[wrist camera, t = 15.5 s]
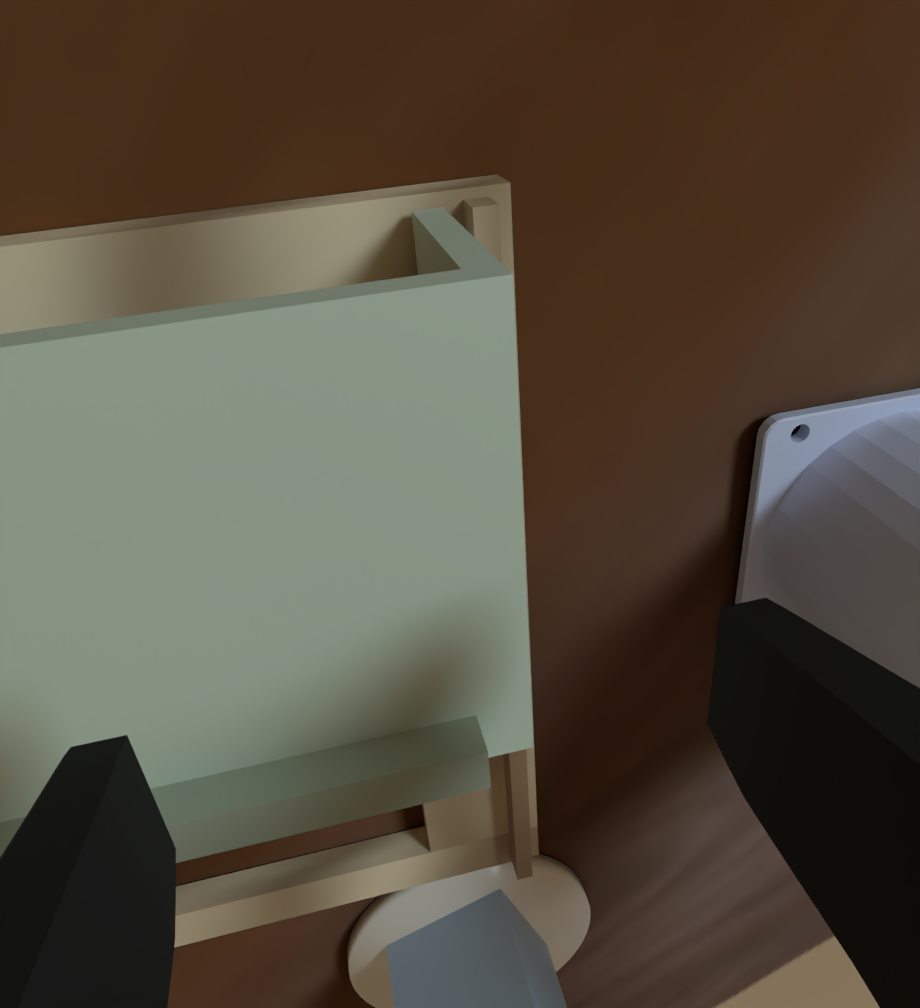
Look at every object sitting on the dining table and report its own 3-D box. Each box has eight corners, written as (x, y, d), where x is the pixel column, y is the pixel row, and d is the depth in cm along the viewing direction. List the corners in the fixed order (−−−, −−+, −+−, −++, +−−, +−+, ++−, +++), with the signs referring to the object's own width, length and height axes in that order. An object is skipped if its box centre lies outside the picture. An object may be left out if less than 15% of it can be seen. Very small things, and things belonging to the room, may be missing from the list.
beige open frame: (496, 174, 16) (521, 189, 15) (530, 829, 27) (546, 876, 26) (-329, 277, 14) (-400, 307, 12) (71, 943, 25) (59, 1002, 24)
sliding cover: (442, 207, 15) (532, 292, 10) (476, 600, 20) (547, 782, 15) (-271, 299, 13) (-572, 455, 8) (-40, 704, 18) (-145, 949, 13)
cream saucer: (585, 824, 28) (591, 839, 27) (584, 964, 33) (589, 979, 32) (327, 889, 26) (329, 906, 26) (365, 1025, 31) (367, 1041, 31)
